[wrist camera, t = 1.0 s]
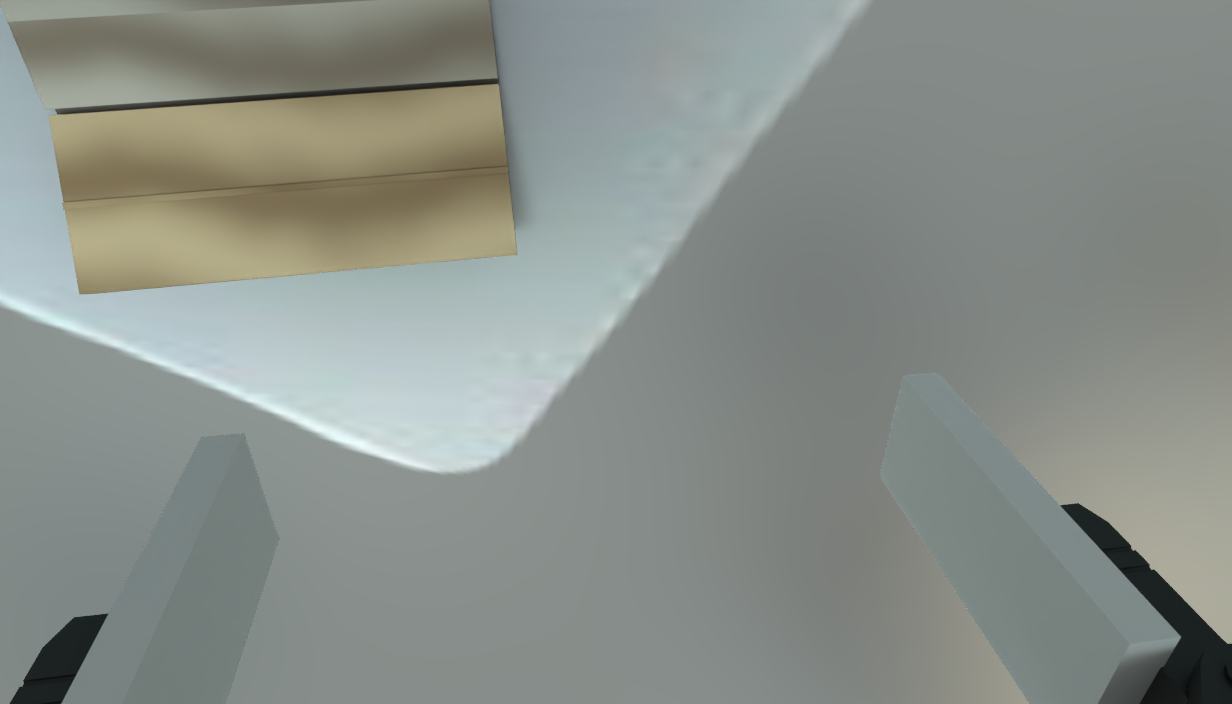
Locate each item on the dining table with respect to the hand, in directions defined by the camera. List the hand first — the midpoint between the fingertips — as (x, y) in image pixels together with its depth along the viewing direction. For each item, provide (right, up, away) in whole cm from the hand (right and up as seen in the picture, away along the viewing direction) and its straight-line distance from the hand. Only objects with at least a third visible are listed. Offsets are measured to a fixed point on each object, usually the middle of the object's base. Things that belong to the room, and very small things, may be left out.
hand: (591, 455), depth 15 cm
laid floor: (-15, +18, +18) cm, 30 cm away
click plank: (-15, +10, +21) cm, 27 cm away
